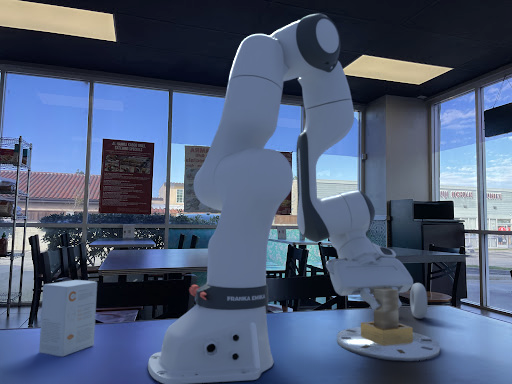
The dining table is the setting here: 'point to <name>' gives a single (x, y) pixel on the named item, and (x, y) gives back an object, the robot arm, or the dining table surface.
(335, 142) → the robot arm
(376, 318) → the tall beige block
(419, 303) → the donut
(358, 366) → the dining table surface
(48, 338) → the small box
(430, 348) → the slotted white disc
